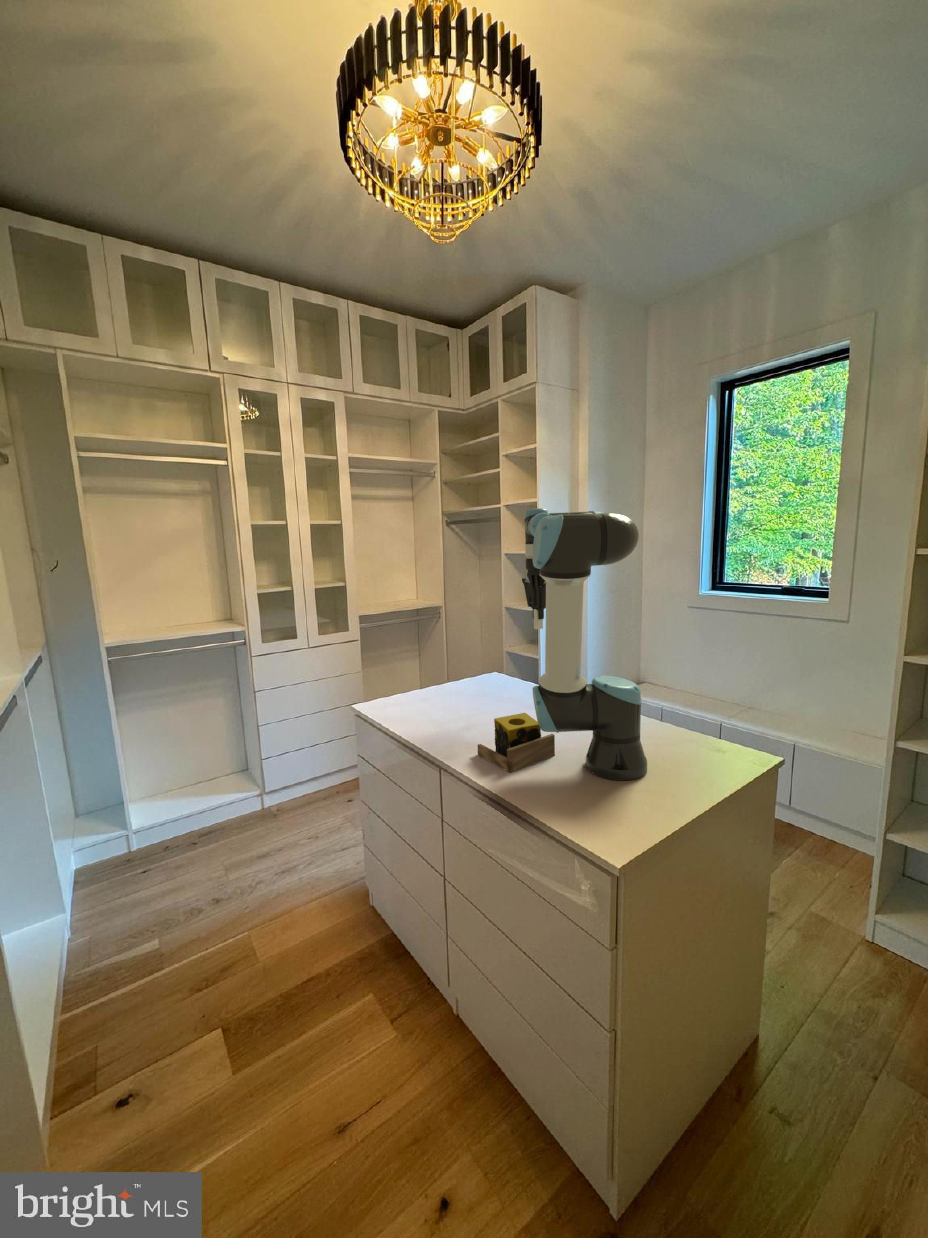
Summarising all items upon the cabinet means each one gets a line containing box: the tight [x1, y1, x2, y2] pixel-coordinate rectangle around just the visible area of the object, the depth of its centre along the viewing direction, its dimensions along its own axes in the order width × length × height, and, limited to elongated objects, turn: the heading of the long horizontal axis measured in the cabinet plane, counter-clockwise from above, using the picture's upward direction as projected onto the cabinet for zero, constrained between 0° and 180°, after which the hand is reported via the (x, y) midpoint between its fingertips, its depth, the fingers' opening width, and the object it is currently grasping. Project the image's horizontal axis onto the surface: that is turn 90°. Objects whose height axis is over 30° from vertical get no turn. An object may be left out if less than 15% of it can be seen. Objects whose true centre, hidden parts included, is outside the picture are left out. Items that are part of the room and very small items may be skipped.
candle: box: [493, 712, 542, 757], centre depth 137 cm, size 10×10×10 cm
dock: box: [477, 733, 556, 773], centre depth 137 cm, size 14×16×6 cm
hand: (538, 628), depth 165 cm, fingers closed
